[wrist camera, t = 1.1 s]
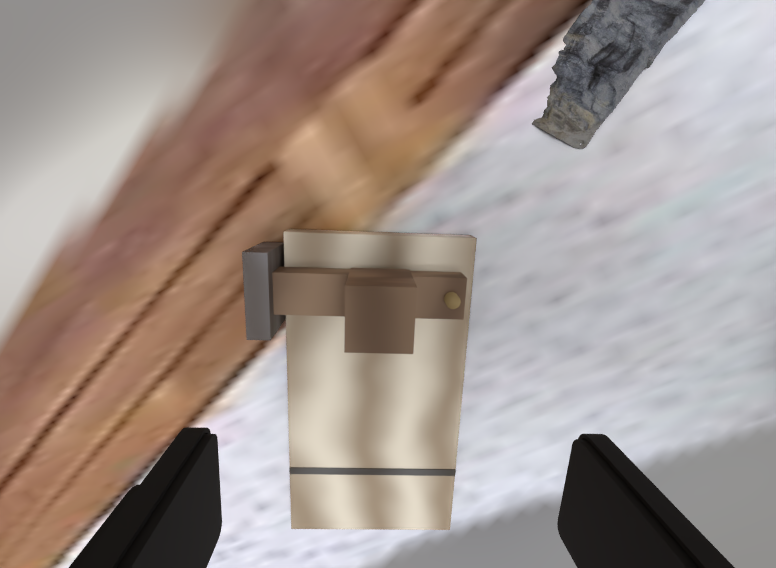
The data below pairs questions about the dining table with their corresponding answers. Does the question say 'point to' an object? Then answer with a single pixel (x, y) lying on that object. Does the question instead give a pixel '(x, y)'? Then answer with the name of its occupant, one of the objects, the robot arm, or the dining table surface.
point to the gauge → (348, 299)
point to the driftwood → (606, 61)
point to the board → (375, 395)
